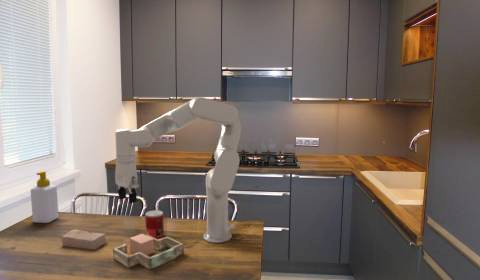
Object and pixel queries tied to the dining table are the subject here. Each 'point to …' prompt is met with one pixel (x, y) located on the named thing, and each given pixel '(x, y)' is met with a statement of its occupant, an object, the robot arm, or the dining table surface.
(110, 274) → the dining table surface
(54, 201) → the soap bottle
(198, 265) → the dining table surface
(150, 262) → the channel
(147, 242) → the block
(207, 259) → the dining table surface
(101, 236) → the brick
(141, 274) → the dining table surface
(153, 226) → the canned food
